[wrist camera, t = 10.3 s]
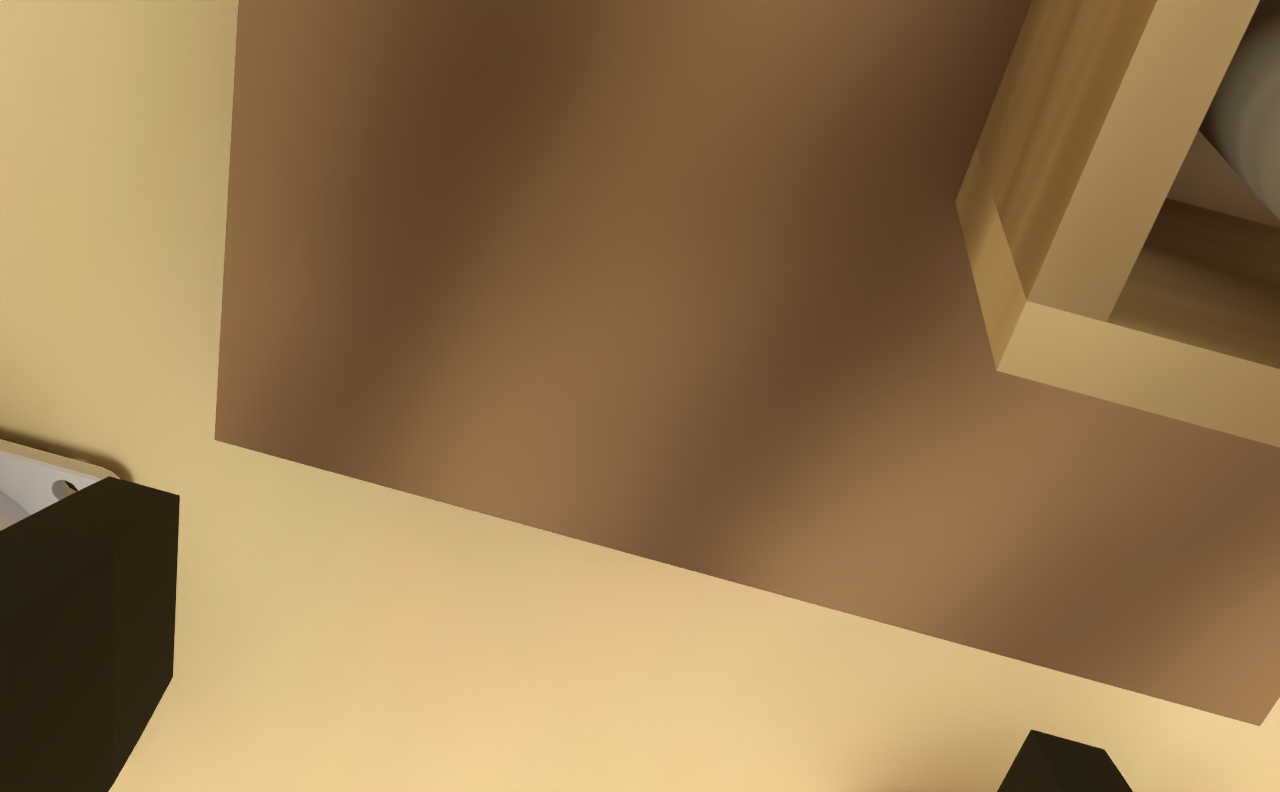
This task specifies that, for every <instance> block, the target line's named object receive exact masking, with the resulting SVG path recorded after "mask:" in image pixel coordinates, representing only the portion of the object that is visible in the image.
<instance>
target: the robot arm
mask: <svg viewBox="0 0 1280 792" xmlns="http://www.w3.org/2000/svg"><path fill="white" fill-rule="evenodd" d="M65 480H66V481H68V482H70V483H72V484H73V485H74V486H75V487H76V488H77V489H78V491H75V490H73V489H71V488H70V487H69V486H68V485H67V484H66V483H65ZM179 502H180V496H179V495H176V494H172V493H168V492H165V491H161V490H158V489H154V488H150V487H147V486H143V485H139V484H136V483H132V482H128V481H125V480H121V479H120V478H119V477H118V476H117V475H116V474H114V473H113V472H112V471H110V470H107V469H105V468H103V467H100V466H96V465H93V464H89V463H85V462H82V461H78V460H74V459H71V458H67V457H63V456H60V455H56V454H53V453H49V452H45V451H42V450H38V449H34V448H31V447H27V446H23V445H20V444H16V443H13V442H9V441H5V440H2V439H0V792H108V791H109V789H110V788H111V787H112V785H113V784H114V782H115V780H116V778H117V777H118V775H119V773H120V772H121V770H122V768H123V766H124V765H125V763H126V761H127V759H128V758H129V756H130V754H131V752H132V751H133V749H134V747H135V745H136V744H137V742H138V740H139V738H140V737H141V735H142V733H143V731H144V729H145V727H146V726H147V724H148V722H149V720H150V718H151V716H152V714H153V713H154V711H155V709H156V707H157V705H158V703H159V701H160V700H161V698H162V696H163V694H164V692H165V690H166V688H167V687H168V685H169V683H170V681H171V679H172V677H173V659H174V633H175V607H176V580H177V554H178V528H179ZM997 792H1133V791H1132V790H1131V788H1130V787H1129V785H1128V784H1127V782H1126V781H1125V779H1124V778H1123V776H1122V775H1121V773H1120V772H1119V770H1118V769H1117V767H1116V766H1115V764H1114V763H1113V761H1112V760H1111V759H1110V757H1109V756H1108V754H1107V753H1106V751H1105V750H1104V749H1100V748H1097V747H1093V746H1089V745H1086V744H1082V743H1078V742H1075V741H1071V740H1067V739H1064V738H1060V737H1057V736H1053V735H1049V734H1046V733H1042V732H1038V731H1035V730H1031V731H1030V733H1029V734H1028V736H1027V738H1026V740H1025V742H1024V744H1023V745H1022V747H1021V749H1020V751H1019V753H1018V755H1017V756H1016V758H1015V760H1014V762H1013V764H1012V766H1011V767H1010V769H1009V771H1008V773H1007V775H1006V777H1005V778H1004V780H1003V782H1002V784H1001V786H1000V788H999V789H998V791H997Z"/></svg>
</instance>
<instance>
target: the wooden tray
mask: <svg viewBox="0 0 1280 792" xmlns="http://www.w3.org/2000/svg"><path fill="white" fill-rule="evenodd" d="M1031 2H1032V0H239V4H238V22H237V41H236V59H235V77H234V96H233V114H232V132H231V150H230V169H229V187H228V205H227V224H226V242H225V260H224V278H223V297H222V315H221V333H220V352H219V370H218V388H217V407H216V425H215V440H217V441H221V442H225V443H228V444H232V445H236V446H239V447H243V448H247V449H250V450H254V451H258V452H261V453H265V454H268V455H272V456H276V457H279V458H283V459H287V460H290V461H294V462H298V463H301V464H305V465H309V466H312V467H316V468H320V469H323V470H327V471H331V472H334V473H338V474H341V475H345V476H349V477H352V478H356V479H360V480H363V481H367V482H371V483H374V484H378V485H382V486H385V487H389V488H393V489H396V490H400V491H404V492H407V493H411V494H415V495H418V496H422V497H425V498H429V499H433V500H436V501H440V502H444V503H447V504H451V505H455V506H458V507H462V508H466V509H469V510H473V511H477V512H480V513H484V514H488V515H491V516H495V517H498V518H502V519H506V520H509V521H513V522H517V523H520V524H524V525H528V526H531V527H535V528H539V529H542V530H546V531H550V532H553V533H557V534H561V535H564V536H568V537H571V538H575V539H579V540H582V541H586V542H590V543H593V544H597V545H601V546H604V547H608V548H612V549H615V550H619V551H623V552H626V553H630V554H634V555H637V556H641V557H644V558H648V559H652V560H655V561H659V562H663V563H666V564H670V565H674V566H677V567H681V568H685V569H688V570H692V571H696V572H699V573H703V574H707V575H710V576H714V577H717V578H721V579H725V580H728V581H732V582H736V583H739V584H743V585H747V586H750V587H754V588H758V589H761V590H765V591H769V592H772V593H776V594H780V595H783V596H787V597H790V598H794V599H798V600H801V601H805V602H809V603H812V604H816V605H820V606H823V607H827V608H831V609H834V610H838V611H842V612H845V613H849V614H853V615H856V616H860V617H863V618H867V619H871V620H874V621H878V622H882V623H885V624H889V625H893V626H896V627H900V628H904V629H907V630H911V631H915V632H918V633H922V634H926V635H929V636H933V637H936V638H940V639H944V640H947V641H951V642H955V643H958V644H962V645H966V646H969V647H973V648H977V649H980V650H984V651H988V652H991V653H995V654H999V655H1002V656H1006V657H1009V658H1013V659H1017V660H1020V661H1024V662H1028V663H1031V664H1035V665H1039V666H1042V667H1046V668H1050V669H1053V670H1057V671H1061V672H1064V673H1068V674H1072V675H1075V676H1079V677H1082V678H1086V679H1090V680H1093V681H1097V682H1101V683H1104V684H1108V685H1112V686H1115V687H1119V688H1123V689H1126V690H1130V691H1134V692H1137V693H1141V694H1145V695H1148V696H1152V697H1155V698H1159V699H1163V700H1166V701H1170V702H1174V703H1177V704H1181V705H1185V706H1188V707H1192V708H1196V709H1199V710H1203V711H1207V712H1210V713H1214V714H1218V715H1221V716H1225V717H1229V718H1232V719H1236V720H1239V721H1243V722H1247V723H1250V724H1254V725H1258V726H1260V725H1261V724H1262V722H1263V721H1264V719H1265V718H1266V716H1267V715H1268V713H1269V712H1270V710H1271V709H1272V707H1273V706H1274V705H1275V703H1276V702H1277V700H1278V699H1279V697H1280V447H1276V446H1273V445H1269V444H1265V443H1261V442H1258V441H1254V440H1250V439H1247V438H1243V437H1239V436H1236V435H1232V434H1228V433H1225V432H1221V431H1217V430H1214V429H1210V428H1206V427H1202V426H1199V425H1195V424H1191V423H1188V422H1184V421H1180V420H1177V419H1173V418H1169V417H1166V416H1162V415H1158V414H1154V413H1151V412H1147V411H1143V410H1140V409H1136V408H1132V407H1129V406H1125V405H1121V404H1118V403H1114V402H1110V401H1107V400H1103V399H1099V398H1095V397H1092V396H1088V395H1084V394H1081V393H1077V392H1073V391H1070V390H1066V389H1062V388H1059V387H1055V386H1051V385H1047V384H1044V383H1040V382H1036V381H1033V380H1029V379H1025V378H1022V377H1018V376H1014V375H1011V374H1007V373H1003V372H1000V371H996V367H995V363H994V359H993V355H992V351H991V346H990V342H989V338H988V334H987V330H986V326H985V322H984V318H983V314H982V310H981V306H980V301H979V297H978V293H977V289H976V285H975V281H974V277H973V273H972V269H971V265H970V261H969V257H968V252H967V248H966V244H965V240H964V236H963V232H962V228H961V224H960V220H959V216H958V212H957V207H956V203H955V201H956V198H957V196H958V193H959V191H960V188H961V185H962V183H963V180H964V178H965V175H966V172H967V170H968V167H969V165H970V162H971V159H972V157H973V154H974V151H975V149H976V146H977V144H978V141H979V138H980V136H981V133H982V131H983V128H984V125H985V123H986V120H987V117H988V115H989V112H990V110H991V107H992V104H993V102H994V99H995V97H996V94H997V91H998V89H999V86H1000V83H1001V81H1002V78H1003V76H1004V73H1005V70H1006V68H1007V65H1008V63H1009V60H1010V57H1011V55H1012V52H1013V49H1014V47H1015V44H1016V42H1017V39H1018V36H1019V34H1020V31H1021V29H1022V26H1023V23H1024V21H1025V18H1026V16H1027V13H1028V10H1029V8H1030V5H1031ZM1166 198H1169V199H1173V200H1176V201H1180V202H1184V203H1188V204H1191V205H1195V206H1199V207H1202V208H1206V209H1210V210H1214V211H1217V212H1221V213H1225V214H1228V215H1232V216H1236V217H1240V218H1243V219H1247V220H1251V221H1255V222H1258V223H1262V224H1266V225H1269V226H1273V227H1277V228H1280V0H1260V1H1259V4H1258V6H1257V8H1256V10H1255V12H1254V14H1253V16H1252V18H1251V20H1250V22H1249V25H1248V27H1247V29H1246V31H1245V33H1244V35H1243V37H1242V39H1241V41H1240V43H1239V45H1238V48H1237V50H1236V52H1235V54H1234V56H1233V58H1232V60H1231V62H1230V64H1229V66H1228V69H1227V71H1226V73H1225V75H1224V77H1223V79H1222V81H1221V83H1220V85H1219V87H1218V90H1217V92H1216V94H1215V96H1214V98H1213V100H1212V102H1211V104H1210V106H1209V108H1208V111H1207V113H1206V115H1205V117H1204V119H1203V121H1202V123H1201V125H1200V127H1199V129H1198V132H1197V134H1196V136H1195V138H1194V140H1193V142H1192V144H1191V146H1190V148H1189V150H1188V153H1187V155H1186V157H1185V159H1184V161H1183V163H1182V165H1181V167H1180V169H1179V171H1178V174H1177V176H1176V178H1175V180H1174V182H1173V184H1172V186H1171V188H1170V190H1169V192H1168V194H1167V197H1166Z"/></svg>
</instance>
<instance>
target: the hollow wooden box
mask: <svg viewBox="0 0 1280 792" xmlns="http://www.w3.org/2000/svg"><path fill="white" fill-rule="evenodd" d="M1259 1H1260V0H1032V2H1031V5H1030V8H1029V10H1028V13H1027V16H1026V18H1025V21H1024V23H1023V26H1022V29H1021V31H1020V34H1019V36H1018V39H1017V42H1016V44H1015V47H1014V49H1013V52H1012V55H1011V57H1010V60H1009V63H1008V65H1007V68H1006V70H1005V73H1004V76H1003V78H1002V81H1001V83H1000V86H999V89H998V91H997V94H996V97H995V99H994V102H993V104H992V107H991V110H990V112H989V115H988V117H987V120H986V123H985V125H984V128H983V131H982V133H981V136H980V138H979V141H978V144H977V146H976V149H975V151H974V154H973V157H972V159H971V162H970V165H969V167H968V170H967V172H966V175H965V178H964V180H963V183H962V185H961V188H960V191H959V193H958V196H957V198H956V201H955V203H956V207H957V212H958V216H959V220H960V224H961V228H962V232H963V236H964V240H965V244H966V248H967V252H968V257H969V261H970V265H971V269H972V273H973V277H974V281H975V285H976V289H977V293H978V297H979V301H980V306H981V310H982V314H983V318H984V322H985V326H986V330H987V334H988V338H989V342H990V346H991V351H992V355H993V359H994V363H995V367H996V371H1000V372H1003V373H1007V374H1011V375H1014V376H1018V377H1022V378H1025V379H1029V380H1033V381H1036V382H1040V383H1044V384H1047V385H1051V386H1055V387H1059V388H1062V389H1066V390H1070V391H1073V392H1077V393H1081V394H1084V395H1088V396H1092V397H1095V398H1099V399H1103V400H1107V401H1110V402H1114V403H1118V404H1121V405H1125V406H1129V407H1132V408H1136V409H1140V410H1143V411H1147V412H1151V413H1154V414H1158V415H1162V416H1166V417H1169V418H1173V419H1177V420H1180V421H1184V422H1188V423H1191V424H1195V425H1199V426H1202V427H1206V428H1210V429H1214V430H1217V431H1221V432H1225V433H1228V434H1232V435H1236V436H1239V437H1243V438H1247V439H1250V440H1254V441H1258V442H1261V443H1265V444H1269V445H1273V446H1276V447H1280V228H1277V227H1273V226H1269V225H1266V224H1262V223H1258V222H1255V221H1251V220H1247V219H1243V218H1240V217H1236V216H1232V215H1228V214H1225V213H1221V212H1217V211H1214V210H1210V209H1206V208H1202V207H1199V206H1195V205H1191V204H1188V203H1184V202H1180V201H1176V200H1173V199H1169V198H1166V197H1167V194H1168V192H1169V190H1170V188H1171V186H1172V184H1173V182H1174V180H1175V178H1176V176H1177V174H1178V171H1179V169H1180V167H1181V165H1182V163H1183V161H1184V159H1185V157H1186V155H1187V153H1188V150H1189V148H1190V146H1191V144H1192V142H1193V140H1194V138H1195V136H1196V134H1197V132H1198V129H1199V127H1200V125H1201V123H1202V121H1203V119H1204V117H1205V115H1206V113H1207V111H1208V108H1209V106H1210V104H1211V102H1212V100H1213V98H1214V96H1215V94H1216V92H1217V90H1218V87H1219V85H1220V83H1221V81H1222V79H1223V77H1224V75H1225V73H1226V71H1227V69H1228V66H1229V64H1230V62H1231V60H1232V58H1233V56H1234V54H1235V52H1236V50H1237V48H1238V45H1239V43H1240V41H1241V39H1242V37H1243V35H1244V33H1245V31H1246V29H1247V27H1248V25H1249V22H1250V20H1251V18H1252V16H1253V14H1254V12H1255V10H1256V8H1257V6H1258V4H1259Z"/></svg>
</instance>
